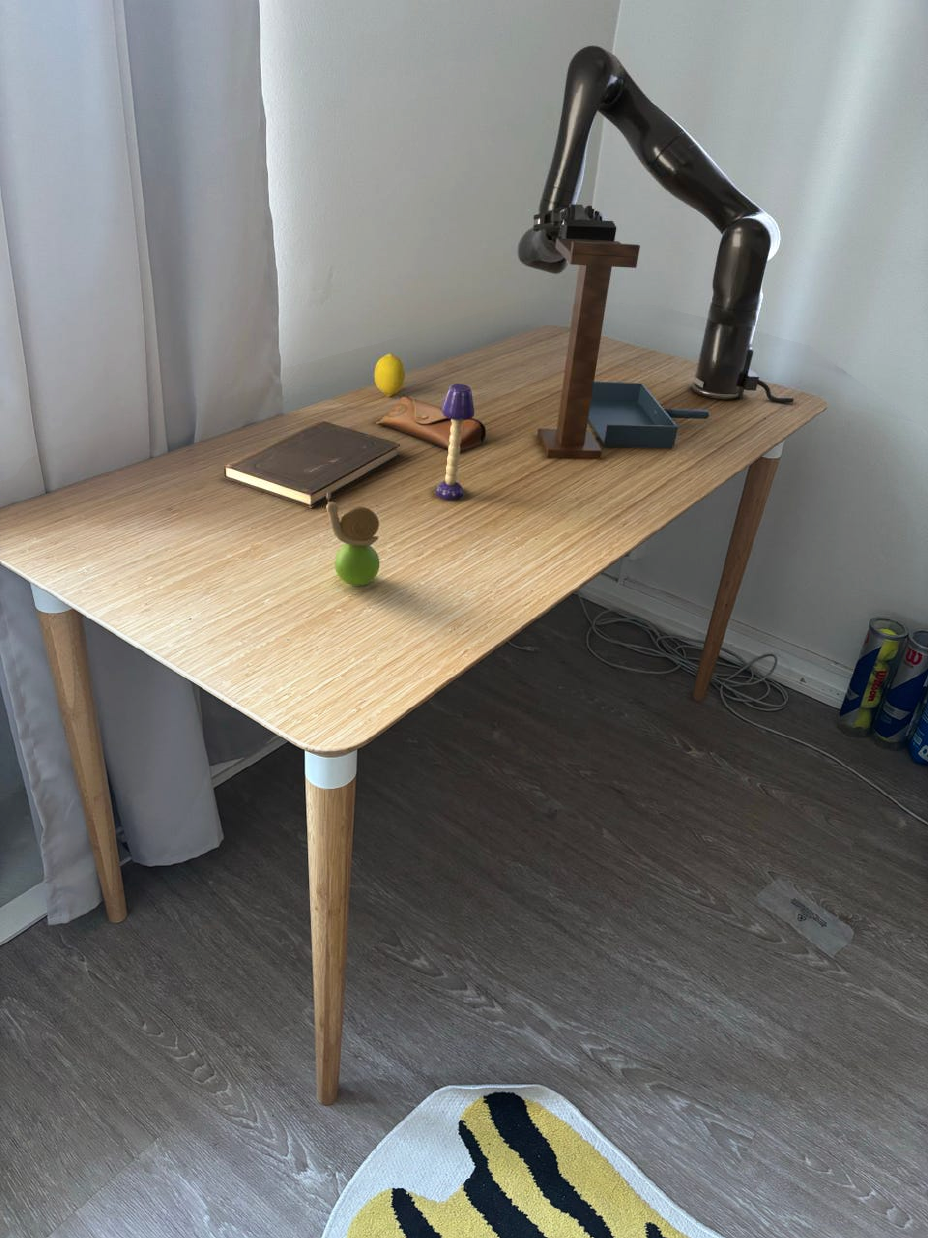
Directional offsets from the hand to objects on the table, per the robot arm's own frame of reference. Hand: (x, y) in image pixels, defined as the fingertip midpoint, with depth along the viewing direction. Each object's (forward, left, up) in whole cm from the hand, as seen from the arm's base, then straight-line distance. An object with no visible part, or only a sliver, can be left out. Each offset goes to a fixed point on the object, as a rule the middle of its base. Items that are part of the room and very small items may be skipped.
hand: (581, 211), depth 154 cm
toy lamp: (+24, +38, -34) cm, 56 cm away
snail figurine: (+39, +63, -34) cm, 81 cm away
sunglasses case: (+25, +14, -34) cm, 44 cm away
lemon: (+31, -3, -34) cm, 46 cm away
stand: (+2, +18, -34) cm, 39 cm away
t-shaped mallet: (0, +2, -3) cm, 3 cm away
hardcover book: (+44, +29, -34) cm, 62 cm away
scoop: (-16, +7, -34) cm, 38 cm away
